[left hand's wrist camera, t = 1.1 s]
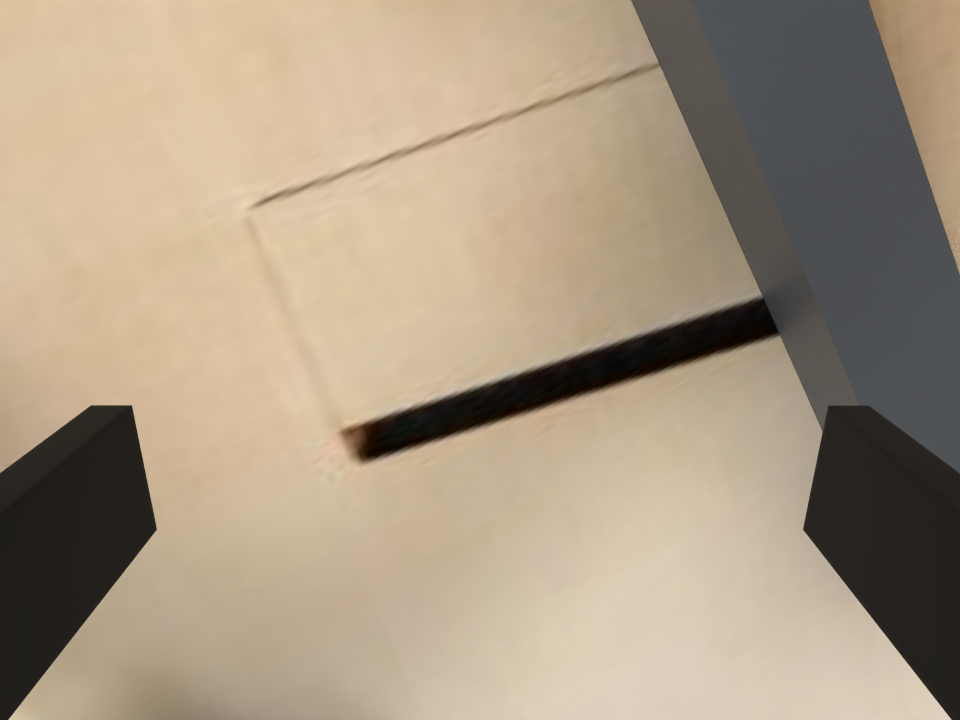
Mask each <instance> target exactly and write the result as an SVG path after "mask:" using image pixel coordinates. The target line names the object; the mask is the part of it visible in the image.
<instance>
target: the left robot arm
mask: <svg viewBox="0 0 960 720" xmlns="http://www.w3.org/2000/svg"><path fill="white" fill-rule="evenodd" d="M156 530H157V528H156V523H155V518H154V513H153V508H152V503H151V498H150V493H149V488H148V483H147V478H146V473H145V468H144V463H143V458H142V453H141V449H140V444H139V439H138V434H137V429H136V424H135V419H134V414H133V409H132V406H90V407H89V408H87V409H86V410H85V411H83V412H82V413H80V414H79V415H78V416H76V417H75V418H74V419H72V420H71V421H70V422H68V423H67V424H66V425H64V426H63V427H62V428H60V429H59V430H58V431H56V432H55V433H54V434H52V435H51V436H50V437H48V438H47V439H46V440H44V441H43V442H42V443H40V444H39V445H38V446H36V447H35V448H33V449H32V450H31V451H29V452H28V453H27V454H25V455H24V456H23V457H21V458H20V459H19V460H17V461H16V462H15V463H13V464H12V465H11V466H9V467H8V468H7V469H5V470H4V471H3V472H1V473H0V720H8V719H9V718H10V717H11V716H12V714H13V713H14V712H15V710H16V709H17V708H18V707H19V705H20V704H21V703H22V701H23V700H24V699H25V698H26V696H27V695H28V694H29V692H30V691H31V690H32V689H33V687H34V686H35V685H36V684H37V682H38V681H39V680H40V678H41V677H42V676H43V675H44V673H45V672H46V671H47V669H48V668H49V667H50V666H51V664H52V663H53V662H54V660H55V659H56V658H57V657H58V655H59V654H60V653H61V652H62V650H63V649H64V648H65V646H66V645H67V644H68V643H69V641H70V640H71V639H72V637H73V636H74V635H75V634H76V632H77V631H78V630H79V629H80V627H81V626H82V625H83V623H84V622H85V621H86V620H87V618H88V617H89V616H90V614H91V613H92V612H93V611H94V609H95V608H96V607H97V605H98V604H99V603H100V602H101V600H102V599H103V598H104V597H105V595H106V594H107V593H108V591H109V590H110V589H111V588H112V586H113V585H114V584H115V582H116V581H117V580H118V579H119V577H120V576H121V575H122V573H123V572H124V571H125V570H126V568H127V567H128V566H129V565H130V563H131V562H132V561H133V559H134V558H135V557H136V556H137V554H138V553H139V552H140V550H141V549H142V548H143V547H144V545H145V544H146V543H147V541H148V540H149V539H150V538H151V536H152V535H153V534H154V533H155V531H156ZM803 530H804V531H805V533H806V534H807V535H808V536H809V538H810V539H811V540H812V541H813V543H814V544H815V545H816V547H817V548H818V549H819V550H820V552H821V553H822V554H823V556H824V557H825V558H826V559H827V561H828V562H829V563H830V565H831V566H832V567H833V568H834V570H835V571H836V572H837V573H838V575H839V576H840V577H841V579H842V580H843V581H844V582H845V584H846V585H847V586H848V588H849V589H850V590H851V591H852V593H853V594H854V595H855V597H856V598H857V599H858V600H859V602H860V603H861V604H862V605H863V607H864V608H865V609H866V611H867V612H868V613H869V614H870V616H871V617H872V618H873V620H874V621H875V622H876V623H877V625H878V626H879V627H880V629H881V630H882V631H883V632H884V634H885V635H886V636H887V637H888V639H889V640H890V641H891V643H892V644H893V645H894V646H895V648H896V649H897V650H898V652H899V653H900V654H901V655H902V657H903V658H904V659H905V660H906V662H907V663H908V664H909V666H910V667H911V668H912V669H913V671H914V672H915V673H916V675H917V676H918V677H919V678H920V680H921V681H922V682H923V684H924V685H925V686H926V687H927V689H928V690H929V691H930V692H931V694H932V695H933V696H934V698H935V699H936V700H937V701H938V703H939V704H940V705H941V707H942V708H943V709H944V710H945V712H946V713H947V714H948V716H949V717H950V718H951V719H952V720H960V473H959V472H957V471H956V470H955V469H953V468H952V467H951V466H949V465H948V464H947V463H945V462H944V461H943V460H941V459H940V458H939V457H937V456H936V455H935V454H933V453H932V452H931V451H929V450H928V449H927V448H925V447H924V446H922V445H921V444H920V443H918V442H917V441H916V440H914V439H913V438H912V437H910V436H909V435H908V434H906V433H905V432H904V431H902V430H901V429H900V428H898V427H897V426H896V425H894V424H893V423H892V422H890V421H889V420H888V419H886V418H885V417H884V416H882V415H881V414H880V413H878V412H877V411H875V410H874V409H873V408H871V407H870V406H828V409H827V414H826V419H825V424H824V429H823V434H822V439H821V444H820V449H819V453H818V458H817V463H816V468H815V473H814V478H813V483H812V488H811V493H810V498H809V503H808V508H807V513H806V518H805V523H804V528H803Z"/></svg>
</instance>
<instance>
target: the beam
mask: <svg viewBox="0 0 960 720" xmlns="http://www.w3.org/2000/svg"><path fill="white" fill-rule="evenodd" d="M631 1H632V3H633V5H634V7H635V10H636V12H637V14H638V16H639V19H640V21H641V23H642V25H643V28H644V30H645V32H646V34H647V37H648V39H649V41H650V43H651V46H652V48H653V50H654V52H655V55H656V57H657V59H658V61H659V64H660V66H661V68H662V70H663V73H664V75H665V77H666V79H667V82H668V84H669V86H670V88H671V91H672V93H673V95H674V97H675V100H676V102H677V104H678V106H679V109H680V111H681V113H682V115H683V118H684V120H685V122H686V124H687V127H688V129H689V131H690V133H691V136H692V138H693V140H694V142H695V145H696V147H697V149H698V151H699V154H700V156H701V158H702V160H703V163H704V165H705V167H706V169H707V172H708V174H709V176H710V178H711V181H712V183H713V185H714V187H715V190H716V192H717V194H718V196H719V199H720V201H721V203H722V205H723V208H724V210H725V212H726V214H727V217H728V219H729V221H730V223H731V226H732V228H733V230H734V232H735V235H736V237H737V239H738V241H739V244H740V246H741V248H742V250H743V253H744V255H745V257H746V259H747V262H748V264H749V266H750V268H751V271H752V273H753V275H754V277H755V280H756V282H757V284H758V286H759V289H760V291H761V293H762V295H763V298H764V300H765V302H766V304H767V307H768V309H769V311H770V313H771V316H772V318H773V320H774V322H775V325H776V327H777V329H778V331H779V334H780V336H781V338H782V340H783V343H784V345H785V347H786V349H787V352H788V354H789V356H790V358H791V361H792V363H793V365H794V367H795V370H796V372H797V374H798V376H799V379H800V381H801V383H802V385H803V388H804V390H805V392H806V394H807V397H808V399H809V401H810V403H811V406H812V408H813V410H814V412H815V415H816V417H817V419H818V421H819V424H820V426H821V428H822V430H823V429H824V424H825V419H826V414H827V409H828V406H870V407H871V408H873V409H874V410H875V411H877V412H878V413H880V414H881V415H882V416H884V417H885V418H886V419H888V420H889V421H890V422H892V423H893V424H894V425H896V426H897V427H898V428H900V429H901V430H902V431H904V432H905V433H906V434H908V435H909V436H910V437H912V438H913V439H914V440H916V441H917V442H918V443H920V444H921V445H922V446H924V447H925V448H927V449H928V450H929V451H931V452H932V453H933V454H935V455H936V456H937V457H939V458H940V459H941V460H943V461H944V462H945V463H947V464H948V465H949V466H951V467H952V468H953V469H955V470H956V471H957V472H959V473H960V274H959V271H958V268H957V265H956V262H955V259H954V256H953V253H952V250H951V247H950V244H949V241H948V238H947V235H946V232H945V229H944V226H943V223H942V220H941V217H940V214H939V211H938V208H937V205H936V202H935V199H934V196H933V193H932V190H931V187H930V184H929V181H928V178H927V175H926V172H925V169H924V166H923V163H922V160H921V157H920V154H919V151H918V148H917V145H916V142H915V139H914V136H913V133H912V130H911V127H910V124H909V121H908V118H907V115H906V112H905V109H904V106H903V103H902V100H901V97H900V94H899V91H898V88H897V85H896V82H895V79H894V76H893V73H892V70H891V67H890V64H889V61H888V58H887V55H886V52H885V49H884V46H883V43H882V40H881V37H880V34H879V31H878V28H877V25H876V22H875V19H874V16H873V13H872V10H871V7H870V4H869V1H868V0H631Z"/></svg>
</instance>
